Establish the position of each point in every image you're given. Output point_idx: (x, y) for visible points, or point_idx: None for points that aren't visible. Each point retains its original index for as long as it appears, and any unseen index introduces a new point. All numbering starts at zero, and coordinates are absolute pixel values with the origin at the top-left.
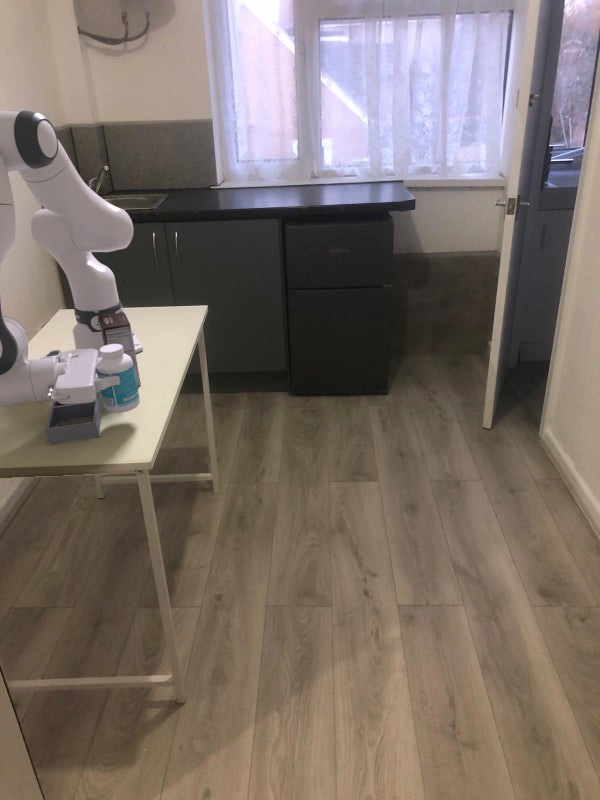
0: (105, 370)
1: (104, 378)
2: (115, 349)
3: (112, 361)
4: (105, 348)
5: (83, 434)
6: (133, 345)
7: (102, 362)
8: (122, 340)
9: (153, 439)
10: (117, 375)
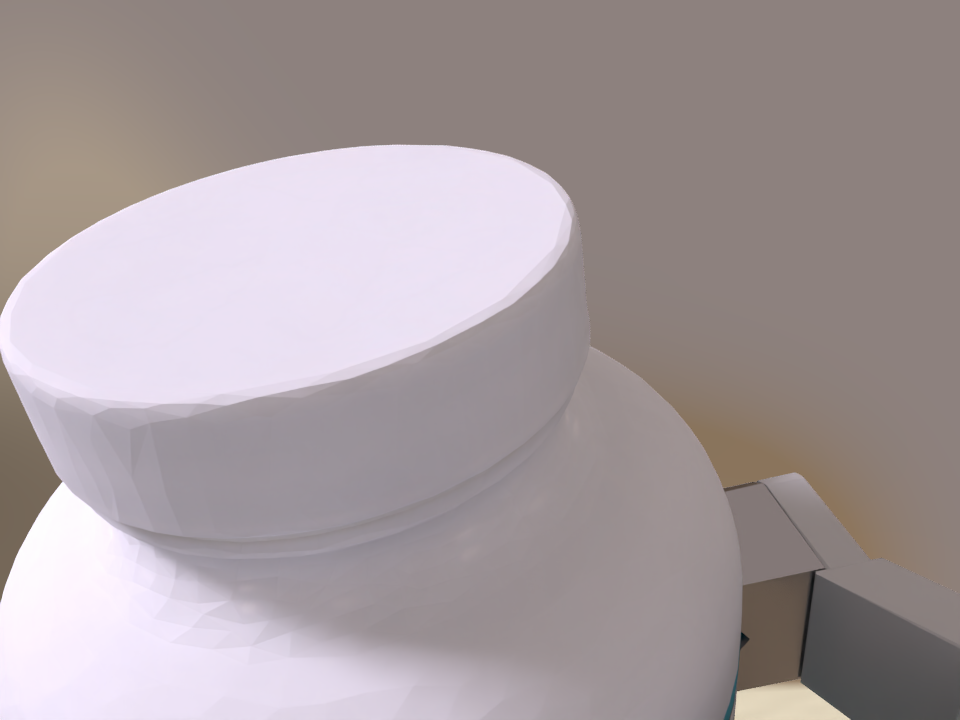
0: (741, 585)
1: (957, 620)
2: (429, 174)
3: (584, 388)
4: (267, 307)
5: None
6: None
7: (575, 567)
8: None
9: (823, 701)
10: (742, 488)
